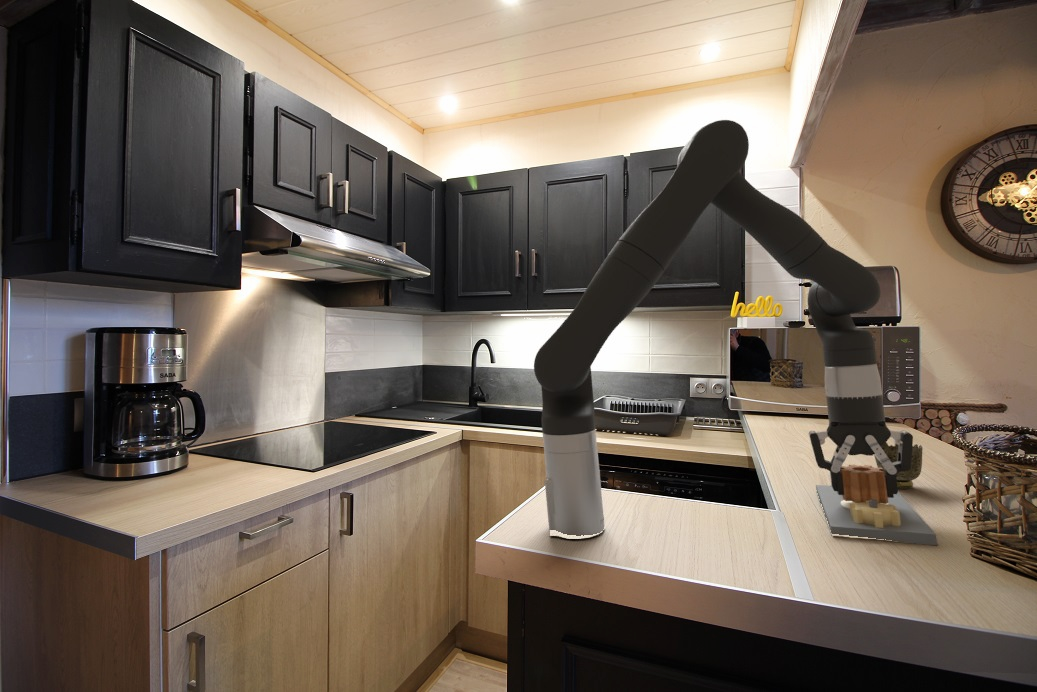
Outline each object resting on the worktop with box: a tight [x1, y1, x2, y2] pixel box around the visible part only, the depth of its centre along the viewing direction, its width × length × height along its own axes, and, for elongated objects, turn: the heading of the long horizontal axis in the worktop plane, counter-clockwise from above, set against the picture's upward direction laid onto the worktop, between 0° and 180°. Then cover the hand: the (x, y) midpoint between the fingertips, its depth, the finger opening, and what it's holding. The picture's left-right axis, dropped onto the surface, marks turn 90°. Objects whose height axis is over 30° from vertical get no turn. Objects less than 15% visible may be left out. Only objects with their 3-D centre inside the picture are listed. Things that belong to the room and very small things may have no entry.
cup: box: [873, 442, 923, 490], centre depth 87 cm, size 8×7×8 cm
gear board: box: [815, 484, 938, 546], centre depth 75 cm, size 22×12×4 cm, turn 152°
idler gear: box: [840, 464, 888, 504], centre depth 75 cm, size 6×6×5 cm
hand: (864, 494), depth 75 cm, fingers closed on idler gear, 6 cm apart
